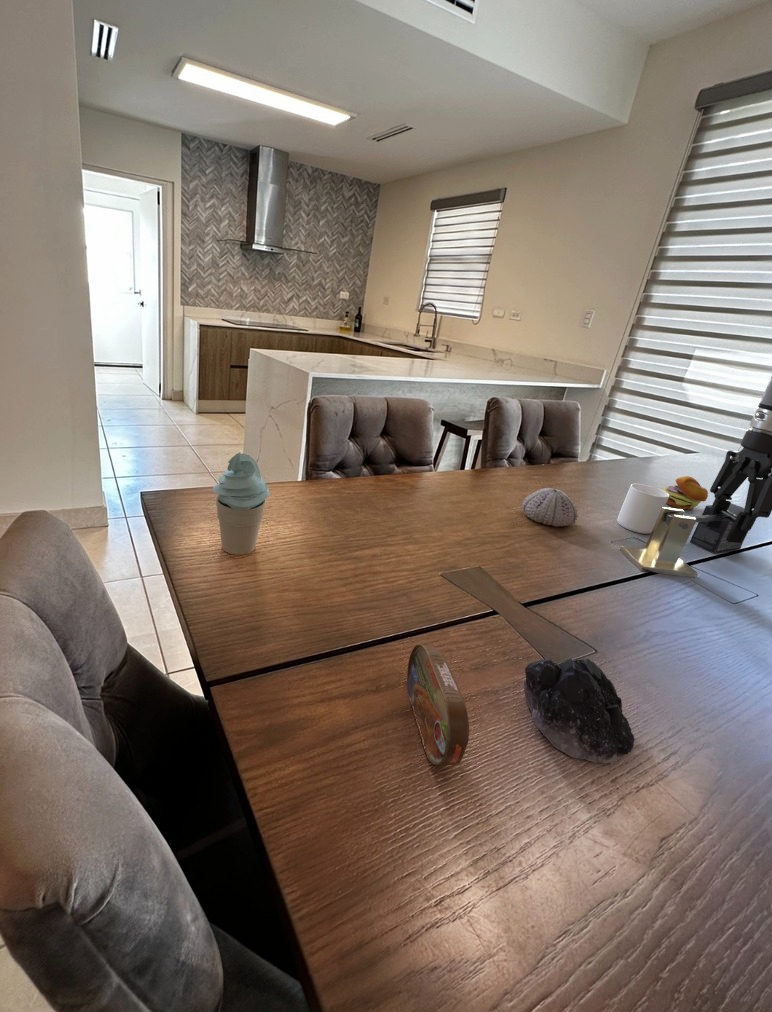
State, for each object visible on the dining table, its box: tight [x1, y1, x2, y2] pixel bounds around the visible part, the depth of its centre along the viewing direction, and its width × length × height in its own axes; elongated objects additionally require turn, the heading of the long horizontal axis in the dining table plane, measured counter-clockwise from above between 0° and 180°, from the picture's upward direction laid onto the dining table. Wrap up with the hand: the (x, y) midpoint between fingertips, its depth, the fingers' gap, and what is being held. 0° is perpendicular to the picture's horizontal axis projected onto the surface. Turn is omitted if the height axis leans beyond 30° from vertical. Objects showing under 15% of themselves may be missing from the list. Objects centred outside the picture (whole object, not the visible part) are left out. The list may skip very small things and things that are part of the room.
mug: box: [617, 483, 669, 535], centre depth 124 cm, size 9×12×11 cm
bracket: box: [619, 506, 699, 579], centre depth 104 cm, size 12×9×13 cm
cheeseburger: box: [661, 475, 709, 510], centre depth 143 cm, size 10×11×10 cm
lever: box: [666, 508, 737, 526], centre depth 102 cm, size 13×6×2 cm, turn 86°
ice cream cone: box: [212, 451, 271, 556], centre depth 89 cm, size 10×11×20 cm
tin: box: [406, 644, 470, 766], centre depth 57 cm, size 15×3×8 cm, turn 4°
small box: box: [689, 502, 749, 555], centre depth 117 cm, size 11×6×10 cm, turn 111°
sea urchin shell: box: [521, 487, 579, 527], centre depth 121 cm, size 13×14×8 cm
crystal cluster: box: [523, 657, 635, 764], centre depth 60 cm, size 13×14×10 cm
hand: (722, 533), depth 103 cm, fingers closed on lever, 6 cm apart
